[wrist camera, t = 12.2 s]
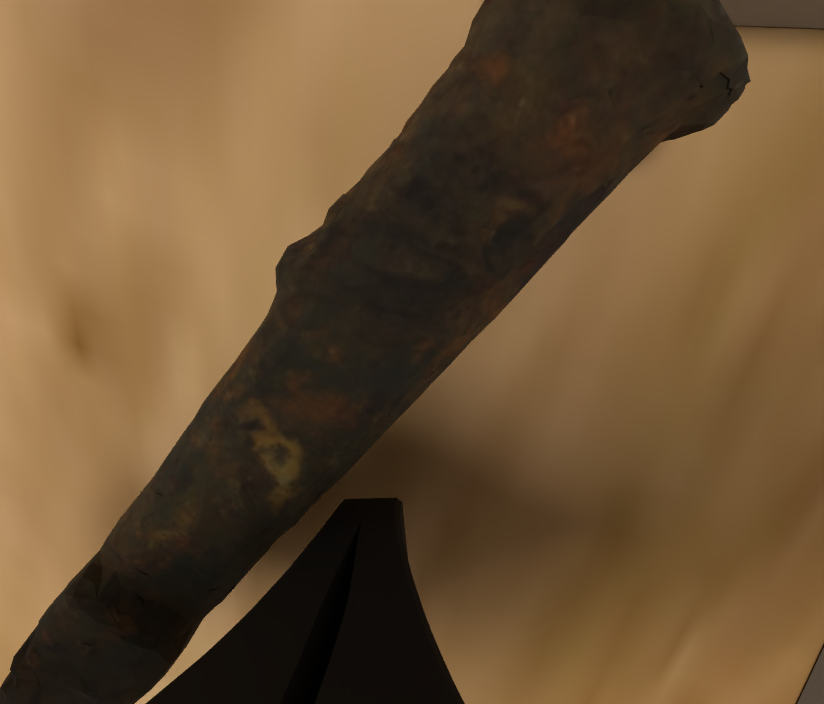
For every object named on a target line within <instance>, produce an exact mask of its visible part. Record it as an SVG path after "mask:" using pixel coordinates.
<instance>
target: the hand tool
mask: <svg viewBox="0 0 824 704" xmlns="http://www.w3.org/2000/svg"><path fill="white" fill-rule="evenodd" d="M747 65H748V54H747V52H746V49H745V47H744V44H743V42H742V39H741V37H740V35H739V33H738V31H737V30H736V28H735V26H734V25H733V23H732V21H731V20H730V18H729V16H728V15H727V13H726V11H725V9H724V8H723V6H722V4H721V2H720V1H719V0H484V2H483V4H482V6H481V7H480V9H479V11H478V12H477V14H476V16H475V17H474V19H473V21H472V24H471V28H470V31H469V34H468V37H467V40H466V43H465V46H464V47H463V48H462V49H461V51H460V52H459V53H458V54H457V55H456V56H455V58H454V59H453V60H452V62H451V64H450V66H449V68H448V69H447V70H446V71H445V73H444V74H443V75H442V76H441V77H440V78H439V79H438V80H437V82H436V83H435V84H434V85H433V86H432V87H431V89H430V91H429V92H428V94H427V95H426V97H425V98H424V100H423V102H422V103H421V104H420V106H419V107H418V108H417V109H416V111H415V112H414V113H413V114H412V115H411V117H410V118H409V119H408V120H407V122H406V124H405V126H404V128H403V130H402V132H401V133H400V135H399V136H398V137H397V138H396V139H394V140H393V142H392V144H391V145H390V147H389V148H388V149H387V150H386V151H385V152H384V153H383V154H382V155H381V156H380V157H379V158H378V159H377V160H376V161H375V162H374V163H373V165H372V166H371V167H370V168H369V169H368V170H367V171H366V173H365V174H364V176H363V177H362V178H361V180H360V181H359V182H358V183H357V184H356V185H355V186H354V187H353V188H351V189H350V190H349V191H348V192H347V193H346V194H343V195H342V196H341V197H340V198H339V199H338V200H337V201H336V202H335V203H334V204H333V205H332V206H331V207H330V208H329V210H328V212H327V215H326V218H325V221H324V224H323V225H322V226H321V227H319V228H318V229H317V230H315V231H314V232H313V233H311V234H310V235H309V236H307V237H305V238H303V239H301V240H299V241H297V242H295V243H293V244H291V245H289V246H288V247H287V249H286V250H285V252H284V254H283V256H282V257H281V259H280V261H279V263H278V264H277V266H276V287H277V293H276V295H275V298H274V300H273V303H272V305H271V308H270V310H269V313H268V314H267V316H266V318H265V319H264V321H263V323H262V324H261V326H260V327H259V328H258V330H257V331H256V333H255V334H254V335H253V337H252V338H251V339H250V341H249V342H248V344H247V345H246V347H245V348H244V349H243V351H242V352H241V354H240V355H239V356H238V358H237V359H236V361H235V362H234V363H233V365H232V366H231V367H230V368H229V370H228V371H227V372H226V374H225V375H224V376H223V377H222V379H221V380H220V381H219V382H218V384H217V385H216V386H215V388H214V389H213V390H212V392H211V393H210V394H209V396H208V397H207V398H206V400H205V401H204V402H203V404H202V406H201V407H200V409H199V411H198V413H197V414H196V416H195V418H194V419H193V421H192V422H191V423H190V425H189V426H188V427H187V429H186V430H185V431H184V433H183V434H182V436H181V437H180V439H179V440H178V441H177V443H176V444H175V446H174V447H173V449H172V450H171V452H170V453H169V455H168V456H167V458H166V459H165V461H164V462H163V464H162V465H161V467H160V468H159V470H158V471H157V473H156V474H155V476H154V477H153V478H152V479H151V481H150V482H149V483H148V485H147V486H146V487H145V488H144V490H143V491H142V492H141V493H140V495H139V496H138V497H137V498H136V499H135V501H134V502H133V503H132V504H131V506H130V507H129V508H128V509H127V511H126V512H125V513H124V514H123V516H122V517H121V518H120V520H119V521H118V523H117V524H116V526H115V527H114V529H113V530H112V531H111V533H110V534H109V536H108V537H107V539H106V541H105V542H104V544H103V546H102V547H101V549H100V551H99V552H98V553H97V554H96V555H95V556H94V557H93V558H92V559H91V560H90V561H89V562H88V563H87V564H86V566H85V567H84V568H83V569H82V570H81V571H80V572H79V573H78V574H77V575H76V576H75V577H74V578H73V579H72V580H71V581H70V582H69V584H68V585H67V587H66V588H65V589H64V590H63V592H62V593H61V594H60V595H59V596H58V597H57V598H56V599H55V600H54V602H53V603H52V604H51V605H50V606H49V608H48V609H47V610H46V612H45V613H44V615H43V616H42V617H41V619H40V620H39V624H38V625H37V627H36V628H35V629H34V631H33V632H32V633H31V635H30V636H29V637H28V639H27V640H26V641H25V643H24V644H23V645H22V647H21V648H20V649H19V650H18V652H17V653H16V654H15V656H14V658H13V661H12V665H11V668H10V670H11V672H10V673H9V675H8V676H7V677H6V679H5V681H4V682H3V684H2V686H1V687H0V704H134V703H136V702H137V701H138V700H139V699H140V698H142V697H143V696H144V695H145V694H146V693H147V692H149V691H150V690H151V689H152V688H153V687H154V686H155V685H156V684H157V683H158V682H159V681H160V680H161V679H162V678H163V677H164V676H165V674H166V673H167V672H168V670H169V669H170V668H171V666H172V665H173V664H174V662H175V661H176V660H177V658H178V657H179V656H180V654H181V653H182V652H183V650H184V649H185V648H186V646H187V645H188V643H189V641H190V640H191V638H192V636H193V635H194V633H195V631H196V630H197V628H198V626H199V625H200V623H201V621H202V620H203V618H204V617H205V616H206V615H207V614H208V613H209V612H210V611H211V610H212V609H213V608H214V607H215V606H217V605H218V604H220V603H221V602H222V601H223V600H224V599H225V597H226V596H227V595H228V594H229V593H230V592H231V591H232V590H233V589H234V588H235V586H236V585H237V584H238V583H239V582H240V580H241V579H242V578H243V577H244V576H245V575H246V574H247V573H248V571H249V570H250V569H251V568H252V567H253V566H254V565H255V564H256V563H257V562H258V561H259V559H260V558H261V557H262V556H263V555H264V554H265V553H266V552H267V551H268V550H269V548H270V547H271V546H272V544H273V543H274V542H275V541H276V540H277V539H278V538H279V537H280V536H281V535H282V534H283V533H285V532H286V531H287V530H289V529H290V528H291V527H293V526H294V525H295V524H296V523H297V522H298V521H299V519H300V518H301V517H302V516H303V515H304V514H305V512H306V511H307V510H308V509H309V508H310V507H311V506H312V505H313V504H314V503H315V502H316V501H317V500H318V499H319V498H320V496H321V495H322V494H324V493H325V492H326V491H327V490H328V489H329V488H331V487H332V486H333V485H334V484H335V483H336V482H337V481H338V480H339V479H340V478H341V477H342V476H343V475H344V474H345V473H346V472H347V471H348V470H349V469H350V468H351V467H352V466H353V465H354V464H355V463H356V462H357V461H358V460H359V459H360V458H361V456H362V455H363V454H364V453H365V452H366V451H367V450H368V449H369V448H370V447H371V446H372V445H373V444H374V443H375V442H376V441H377V440H378V439H379V438H380V437H381V436H382V434H383V433H384V432H385V431H386V430H387V429H388V428H389V427H390V426H391V425H392V424H393V423H394V422H395V421H396V420H397V419H398V418H399V417H400V416H401V415H402V414H403V413H404V412H405V411H406V410H407V409H408V408H409V407H410V406H411V405H412V404H413V403H414V402H415V401H416V400H417V399H418V398H419V396H420V395H421V394H422V393H423V392H424V391H425V390H426V389H427V388H428V387H429V385H430V384H431V383H432V382H433V381H434V380H435V379H436V378H437V377H438V376H439V375H440V374H441V373H442V372H443V371H444V370H445V369H446V368H447V367H448V366H449V365H450V364H451V363H452V362H453V361H454V360H455V358H456V357H457V356H458V355H459V354H460V353H461V352H462V351H463V350H464V349H465V348H466V346H467V345H468V344H469V343H470V342H471V341H472V340H473V339H474V338H475V337H476V336H477V335H478V334H479V333H480V332H481V331H482V330H483V329H484V328H485V327H486V326H487V325H488V324H489V323H491V322H492V321H493V320H494V319H495V318H496V316H497V315H498V314H499V313H500V312H501V311H502V310H503V309H504V308H505V307H506V306H507V305H508V304H509V302H510V301H511V300H512V299H513V298H514V297H515V296H516V295H517V294H518V293H519V291H520V290H521V289H522V288H523V287H524V286H525V285H526V284H527V283H528V282H529V280H530V279H531V278H532V277H533V276H534V275H535V274H536V273H537V272H538V270H539V269H540V268H541V267H542V266H543V265H544V264H545V263H546V262H547V261H548V259H549V258H550V257H551V256H552V255H553V254H554V253H555V252H556V251H557V250H558V249H559V248H560V247H561V245H562V244H563V243H564V242H565V241H566V240H567V238H568V237H569V236H570V234H571V233H572V232H573V231H574V230H575V229H576V228H577V227H578V226H579V225H580V224H581V223H582V222H583V221H584V220H585V219H586V218H587V217H588V216H589V215H590V214H591V213H592V212H593V211H594V209H595V208H596V207H597V206H598V205H599V204H600V203H601V202H602V201H603V200H604V199H605V198H606V197H607V196H608V195H609V194H610V193H611V192H612V191H613V190H614V189H615V188H616V187H617V185H618V184H619V183H620V182H621V181H622V180H623V179H624V178H625V177H626V176H627V175H628V173H629V172H630V171H632V170H633V169H634V168H635V167H636V166H637V165H638V164H639V163H640V162H641V161H642V160H643V159H644V158H645V157H646V156H647V155H648V154H649V153H650V152H651V151H652V150H653V149H654V148H655V147H656V146H657V145H658V144H659V143H660V142H664V141H667V140H674V139H677V138H680V137H683V136H686V135H689V134H691V133H694V132H698V131H701V130H704V129H706V128H708V127H710V126H712V125H714V124H715V123H716V122H717V121H718V120H719V119H720V118H721V117H722V116H723V115H724V114H725V113H726V112H727V111H728V110H729V108H730V106H731V105H732V104H733V103H734V102H735V101H737V100H738V99H739V97H740V96H741V94H742V93H743V91H744V89H745V85H746V84H747V83H749V82H750V78H749V74H748V69H747Z"/></svg>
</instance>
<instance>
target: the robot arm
mask: <svg viewBox="0 0 824 704" xmlns="http://www.w3.org/2000/svg"><path fill="white" fill-rule="evenodd" d="M146 704H465V703H464V701H463V700H462V698H461V696H460V694H459V692H458V690H457V688H456V686H455V684H454V682H453V680H452V677H451V675H450V673H449V671H448V669H447V666H446V664H445V662H444V660H443V657H442V655H441V653H440V651H439V648H438V646H437V643H436V641H435V639H434V636H433V634H432V631H431V629H430V626H429V624H428V621H427V618H426V616H425V613H424V610H423V608H422V605H421V602H420V599H419V596H418V593H417V590H416V587H415V584H414V580H413V577H412V574H411V570H410V566H409V562H408V556H407V546H406V536H405V526H404V516H403V506H402V501H400V500H399V499H398V498H371V499H345V500H344V501H343V502H342V503H341V504H340V505H339V506H338V508H337V509H336V510H335V512H334V513H333V514H332V516H331V517H330V518H329V519H328V521H327V522H326V523H325V525H324V526H323V527H322V528H321V530H320V531H319V532H318V534H317V535H316V536H315V537H314V539H313V540H312V541H311V542H310V544H309V545H308V546H307V547H306V548H305V550H304V551H303V552H302V553H301V554H300V556H299V557H298V558H297V559H296V560H295V562H294V563H293V564H292V565H291V566H290V568H289V569H288V570H287V571H286V572H285V573H284V575H283V576H282V577H281V578H280V579H279V580H278V581H277V582H276V583H275V584H274V585H273V587H272V588H271V589H270V590H269V591H268V592H267V593H266V594H265V595H264V596H263V597H262V599H261V600H260V601H259V602H258V603H257V604H256V605H255V606H254V607H253V608H252V609H251V610H250V611H249V612H248V613H247V614H246V615H245V616H244V617H243V618H242V619H241V620H240V621H239V622H238V623H237V624H236V625H235V626H234V627H233V628H232V629H231V630H230V631H229V632H228V633H227V634H226V635H225V636H224V637H223V638H222V639H221V640H220V641H218V642H217V643H216V644H215V645H214V646H213V647H212V648H211V649H210V650H209V651H208V652H207V653H205V654H204V655H203V656H202V657H201V658H200V659H199V660H197V661H196V662H195V663H194V664H193V665H191V666H190V667H189V668H188V669H187V670H185V671H184V672H183V673H182V674H181V675H180V676H178V677H177V678H176V679H175V680H174V681H172V682H171V683H170V684H169V685H168V686H166V687H165V688H164V689H163V690H162V691H160V692H159V693H158V694H157V695H156V696H154V697H153V698H152V699H151V700H150V701H148V702H147V703H146Z"/></svg>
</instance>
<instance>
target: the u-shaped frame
mask: <svg viewBox="0 0 824 704" xmlns="http://www.w3.org/2000/svg"><path fill="white" fill-rule="evenodd" d="M719 1H720V2H721V4H722V6H723V8H724V9H725V11H726V13H727V15H728V16H729V18H730V20H731V21H732V23H733V25H738V26H767V27H795V28H823V29H824V0H719ZM797 704H824V648H823V650H822V652H821V654H820V656H819V658H818V661H817V663H816V665H815V667H814V669H813V671H812V673H811V675H810V677H809V680H808V682H807V684H806V686H805V688H804V690H803V692H802V694H801V697H800V699H799V701H798V703H797Z"/></svg>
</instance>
